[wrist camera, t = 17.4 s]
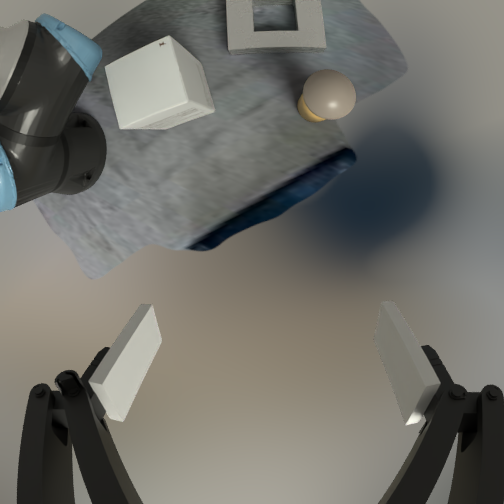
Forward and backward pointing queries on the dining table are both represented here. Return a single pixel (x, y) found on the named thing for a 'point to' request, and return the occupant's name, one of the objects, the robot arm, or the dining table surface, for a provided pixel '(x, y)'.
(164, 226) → the dining table surface
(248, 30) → the housing
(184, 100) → the supplement box
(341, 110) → the yellow and grey cylinder
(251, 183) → the dining table surface
